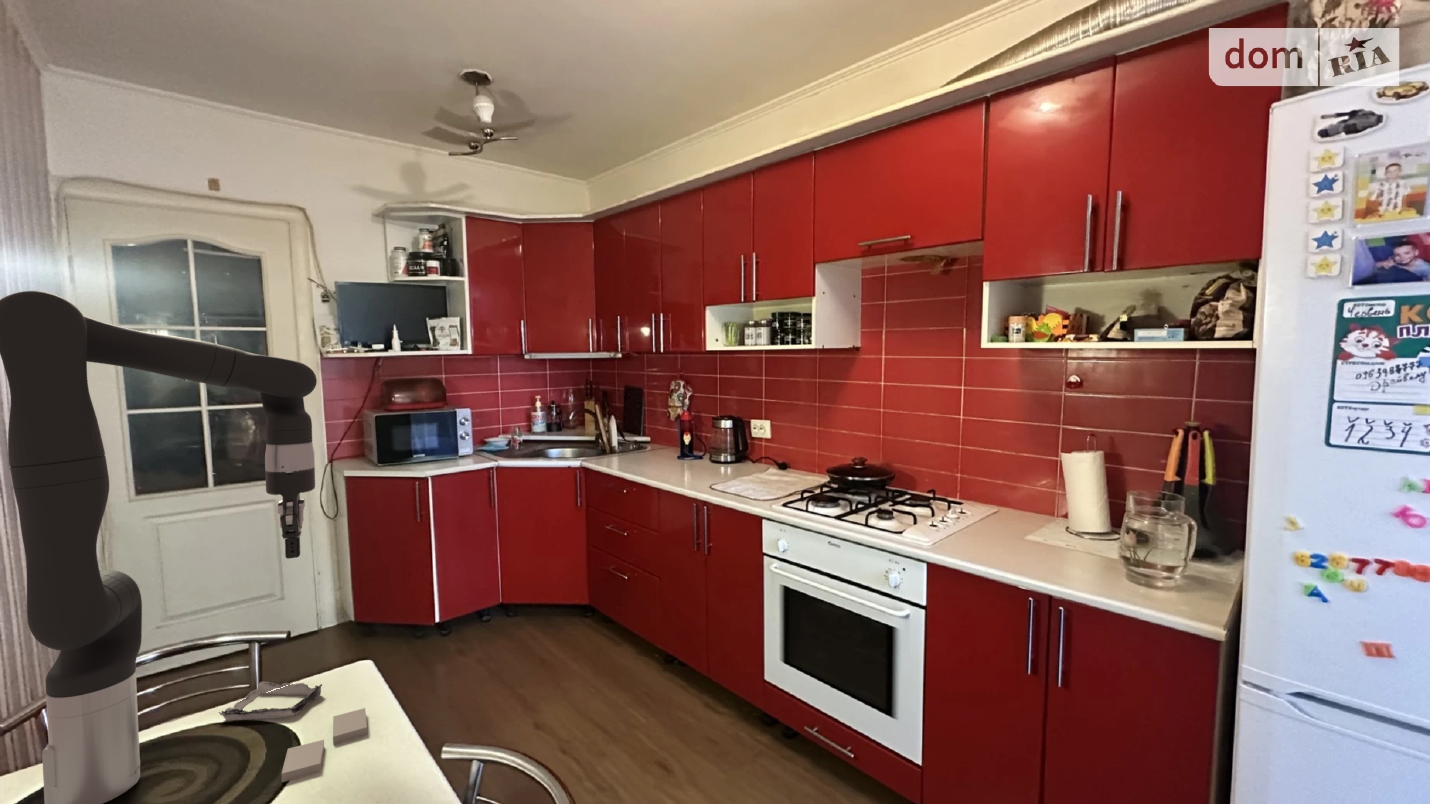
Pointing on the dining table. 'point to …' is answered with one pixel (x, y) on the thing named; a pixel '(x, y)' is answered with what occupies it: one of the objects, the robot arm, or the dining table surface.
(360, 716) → the beige rectangular block
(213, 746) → the dining table surface
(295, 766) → the beige flat slab
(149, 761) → the dining table surface
